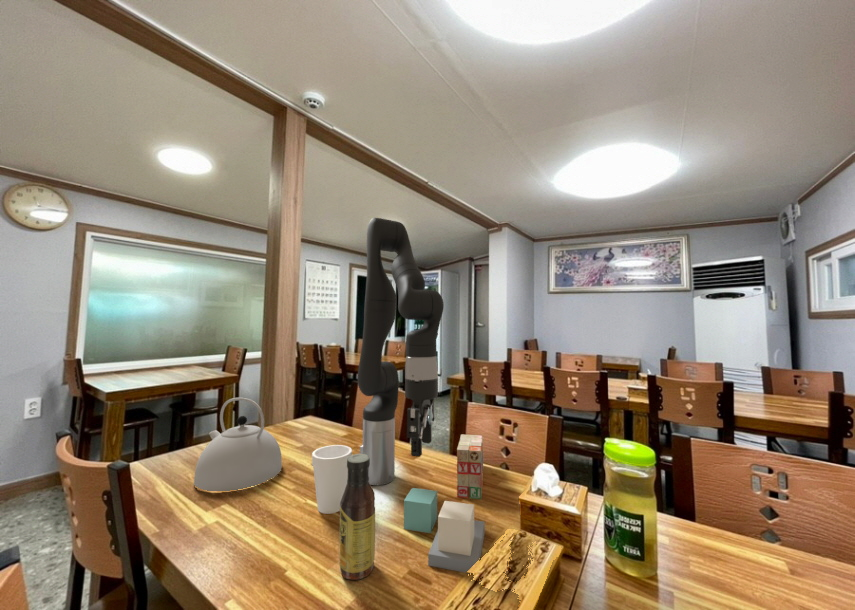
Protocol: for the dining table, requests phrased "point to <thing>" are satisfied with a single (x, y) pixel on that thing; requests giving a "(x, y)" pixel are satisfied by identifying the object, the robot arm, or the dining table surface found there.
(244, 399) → the kettle
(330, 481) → the foam cup
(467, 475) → the stack of blocks
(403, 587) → the dining table surface
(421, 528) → the teal cube
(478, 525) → the board
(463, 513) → the cream cube
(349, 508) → the sauce bottle
